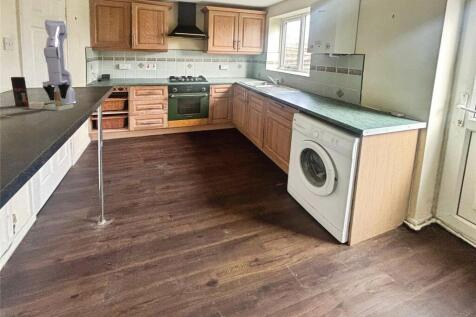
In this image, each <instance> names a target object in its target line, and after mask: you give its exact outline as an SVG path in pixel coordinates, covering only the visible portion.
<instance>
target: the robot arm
mask: <svg viewBox="0 0 476 317" xmlns="http://www.w3.org/2000/svg"><path fill="white" fill-rule="evenodd" d="M67 25H68V24H67V22H66V21H65V20H53V19H45V21H44V28H45V31H46V34H47V36H48V37H47V38H46V45H45V47H44V48H43V56H44V57H45V63H46V65H47V68H46V69H47V75H48V80H47V81H42V89H43V90H44V92H45V93H46V94H47V97H48V98H49V101H51V102H52V101H54V102H53V104H55V99H54V92H60V94H61V102H62V103H67V104H77V101H76V93H75V90H74V87H72V86H73V78H72V75H71V72H70V71H69V70H68V69H66V60H65V49H64V48H65V47H64V46H65V45H64V42H65V40H66V39H67V38H68V26H67Z"/></svg>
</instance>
